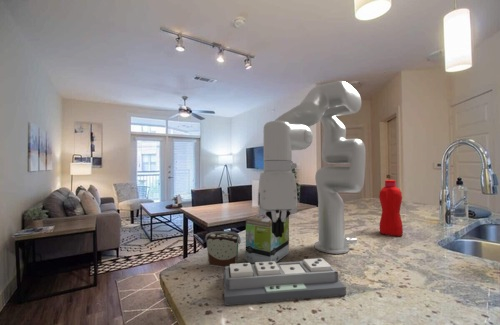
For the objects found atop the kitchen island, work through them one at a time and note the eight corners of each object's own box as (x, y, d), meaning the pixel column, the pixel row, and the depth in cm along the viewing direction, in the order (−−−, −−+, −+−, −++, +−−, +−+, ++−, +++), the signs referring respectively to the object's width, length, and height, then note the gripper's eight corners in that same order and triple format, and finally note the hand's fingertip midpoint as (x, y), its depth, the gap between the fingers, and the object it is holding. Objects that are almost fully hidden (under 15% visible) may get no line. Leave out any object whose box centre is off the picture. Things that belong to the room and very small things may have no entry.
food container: (246, 262, 81) (246, 232, 81) (239, 269, 75) (239, 237, 75) (213, 257, 85) (213, 229, 85) (204, 264, 79) (204, 234, 79)
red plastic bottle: (402, 231, 115) (402, 179, 115) (402, 237, 106) (401, 180, 106) (380, 229, 120) (380, 179, 120) (379, 234, 111) (378, 180, 111)
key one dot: (298, 271, 68) (298, 263, 68) (306, 280, 63) (305, 271, 63) (279, 272, 68) (279, 264, 68) (285, 282, 62) (285, 273, 62)
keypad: (321, 270, 74) (321, 255, 74) (345, 295, 60) (345, 276, 60) (223, 277, 70) (223, 261, 70) (224, 305, 56) (224, 285, 56)
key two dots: (250, 270, 66) (250, 262, 66) (253, 279, 61) (252, 270, 61) (229, 271, 66) (229, 263, 66) (230, 281, 60) (230, 272, 60)
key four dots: (274, 268, 67) (274, 260, 67) (279, 277, 62) (279, 269, 62) (255, 270, 67) (255, 261, 67) (258, 279, 61) (258, 270, 61)
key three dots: (322, 265, 69) (322, 257, 69) (331, 274, 64) (331, 265, 64) (303, 266, 68) (303, 258, 69) (311, 275, 63) (311, 266, 63)
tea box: (271, 268, 76) (270, 221, 76) (244, 261, 81) (244, 218, 81) (289, 253, 88) (289, 213, 88) (265, 248, 94) (265, 210, 94)
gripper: (299, 167, 70) (299, 231, 69) (248, 167, 67) (248, 233, 67) (309, 167, 62) (309, 238, 62) (252, 167, 60) (252, 241, 60)
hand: (277, 235), depth 64 cm, fingers closed
